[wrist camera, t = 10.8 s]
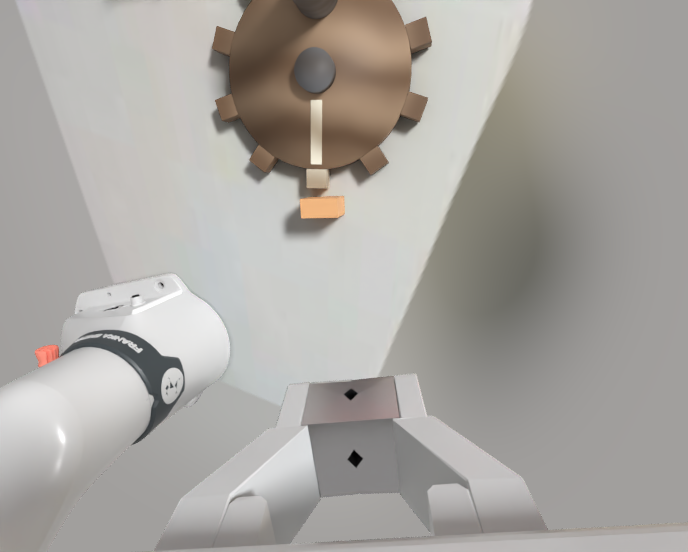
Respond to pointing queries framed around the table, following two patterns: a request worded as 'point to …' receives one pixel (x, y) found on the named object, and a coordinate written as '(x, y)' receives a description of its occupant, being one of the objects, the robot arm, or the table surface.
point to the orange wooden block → (322, 207)
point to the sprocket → (321, 81)
